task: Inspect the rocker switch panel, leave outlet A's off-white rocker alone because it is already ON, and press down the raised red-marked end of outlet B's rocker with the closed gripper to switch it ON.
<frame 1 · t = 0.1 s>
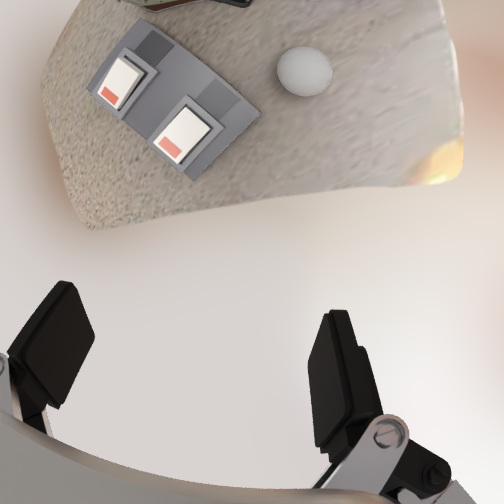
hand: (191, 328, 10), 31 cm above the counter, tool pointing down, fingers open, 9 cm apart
rocker b: (181, 135, 30), point 6 cm above the counter, hinge at -12.0°
rocker switch panel: (173, 94, 32), on the counter
rocker a: (119, 83, 26), point 6 cm above the counter, hinge at 12.0°
light bulb: (296, 76, 31), on the counter
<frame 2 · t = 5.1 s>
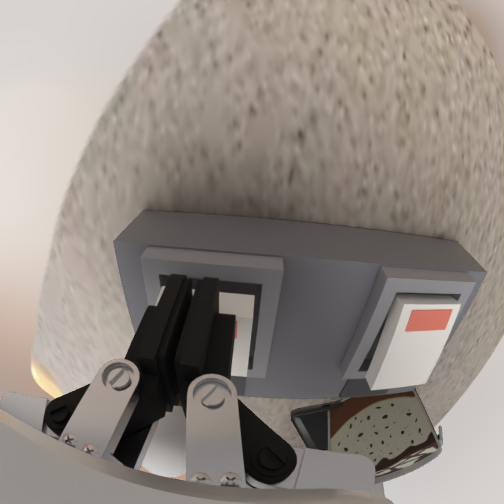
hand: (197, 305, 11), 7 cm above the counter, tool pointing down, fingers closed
rocker b: (208, 338, 13), point 6 cm above the counter, hinge at -9.9°, touching gripper
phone: (330, 424, 30), on the counter
rocker switch panel: (303, 303, 19), on the counter
rocker a: (413, 344, 13), point 6 cm above the counter, hinge at 12.0°
light bulb: (180, 387, 26), on the counter
food container: (376, 394, 25), on the counter
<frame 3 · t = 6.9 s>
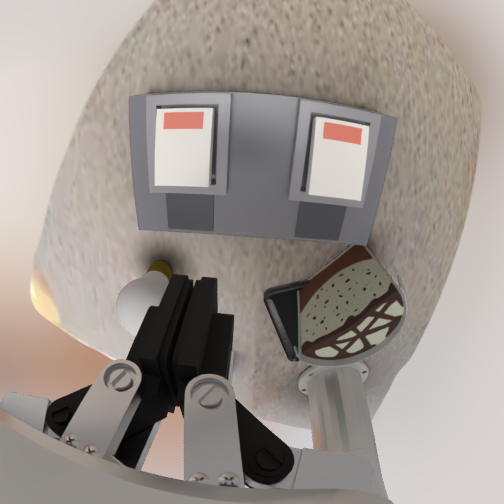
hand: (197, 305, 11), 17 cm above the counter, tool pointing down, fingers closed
rocker b: (183, 146, 18), point 6 cm above the counter, hinge at 10.2°
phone: (305, 320, 37), on the counter
rocker switch panel: (259, 157, 24), on the counter
rocker a: (337, 158, 19), point 6 cm above the counter, hinge at 12.0°
light bulb: (163, 265, 31), on the counter
food container: (342, 276, 32), on the counter
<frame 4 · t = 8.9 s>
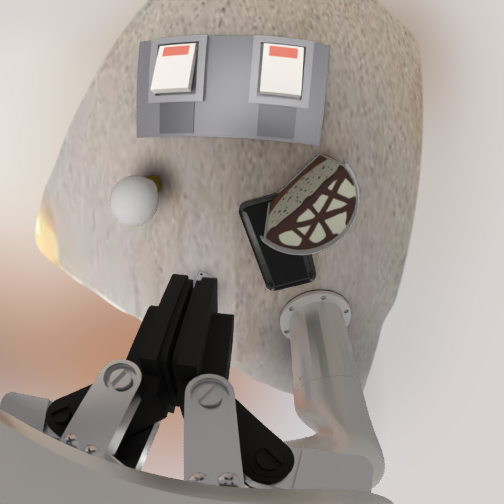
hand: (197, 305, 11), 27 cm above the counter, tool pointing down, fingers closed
rocker b: (174, 67, 23), point 6 cm above the counter, hinge at 20.5°
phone: (280, 241, 41), on the counter
rocker switch panel: (231, 86, 29), on the counter
rocker a: (281, 69, 23), point 6 cm above the counter, hinge at 12.0°
light bulb: (154, 182, 36), on the counter
food container: (309, 192, 36), on the counter
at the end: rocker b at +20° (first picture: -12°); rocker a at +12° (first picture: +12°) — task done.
